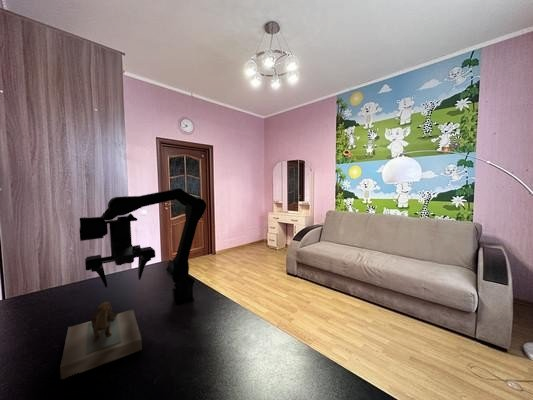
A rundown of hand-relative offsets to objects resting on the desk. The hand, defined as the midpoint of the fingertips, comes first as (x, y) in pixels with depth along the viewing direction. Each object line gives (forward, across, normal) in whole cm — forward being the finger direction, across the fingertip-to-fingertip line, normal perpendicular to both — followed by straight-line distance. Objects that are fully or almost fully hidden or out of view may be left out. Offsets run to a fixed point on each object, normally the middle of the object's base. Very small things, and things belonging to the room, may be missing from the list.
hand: (123, 283), depth 74 cm
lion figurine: (+9, -6, -11) cm, 15 cm away
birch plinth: (+12, -6, -11) cm, 17 cm away
